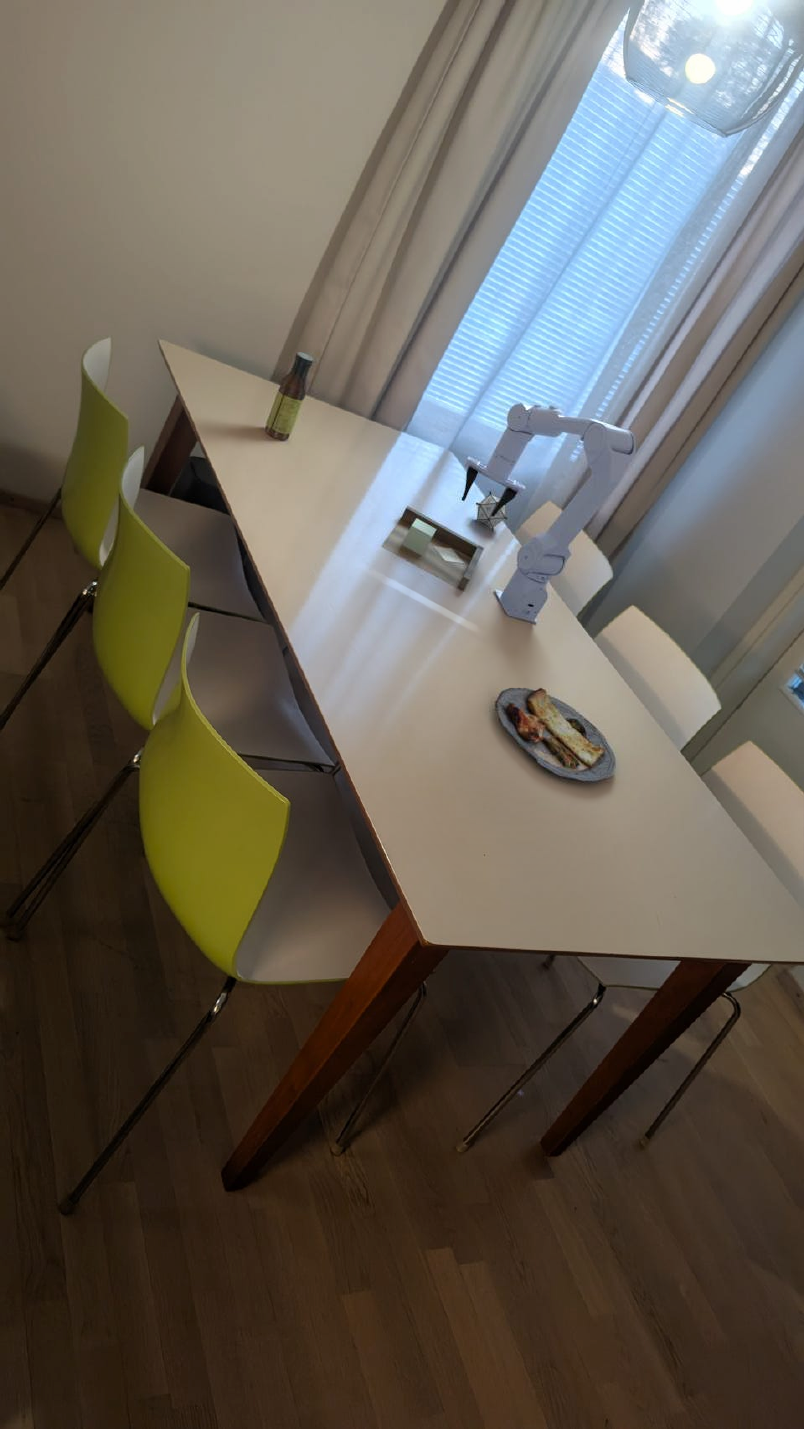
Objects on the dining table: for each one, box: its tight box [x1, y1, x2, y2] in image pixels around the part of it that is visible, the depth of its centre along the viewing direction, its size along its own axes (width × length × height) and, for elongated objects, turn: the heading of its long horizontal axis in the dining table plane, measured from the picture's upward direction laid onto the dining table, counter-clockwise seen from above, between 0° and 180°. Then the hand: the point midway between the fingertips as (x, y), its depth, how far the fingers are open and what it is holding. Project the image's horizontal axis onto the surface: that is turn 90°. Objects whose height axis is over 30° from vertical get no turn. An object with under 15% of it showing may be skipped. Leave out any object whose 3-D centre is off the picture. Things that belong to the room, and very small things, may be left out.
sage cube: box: [402, 518, 436, 555], centre depth 230 cm, size 5×5×5 cm
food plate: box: [494, 687, 617, 782], centre depth 193 cm, size 25×23×4 cm
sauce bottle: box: [264, 351, 314, 441], centre depth 243 cm, size 7×6×20 cm
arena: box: [381, 505, 485, 592], centre depth 232 cm, size 20×20×4 cm
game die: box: [475, 490, 508, 531], centre depth 261 cm, size 9×8×10 cm
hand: (477, 507), depth 241 cm, fingers open, 7 cm apart
